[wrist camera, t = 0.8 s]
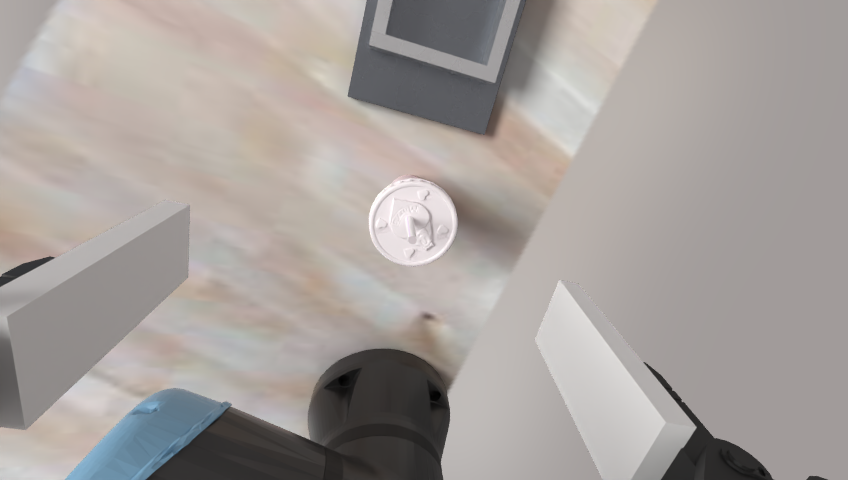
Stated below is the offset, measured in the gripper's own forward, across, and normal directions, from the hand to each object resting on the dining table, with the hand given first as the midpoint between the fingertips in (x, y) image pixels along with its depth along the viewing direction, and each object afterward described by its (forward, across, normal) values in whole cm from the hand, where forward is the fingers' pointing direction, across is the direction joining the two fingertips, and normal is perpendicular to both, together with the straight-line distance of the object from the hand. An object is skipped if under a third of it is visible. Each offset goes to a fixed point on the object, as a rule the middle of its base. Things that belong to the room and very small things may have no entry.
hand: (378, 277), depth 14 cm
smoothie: (+24, -2, +3) cm, 24 cm away
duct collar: (+24, -2, -13) cm, 27 cm away
